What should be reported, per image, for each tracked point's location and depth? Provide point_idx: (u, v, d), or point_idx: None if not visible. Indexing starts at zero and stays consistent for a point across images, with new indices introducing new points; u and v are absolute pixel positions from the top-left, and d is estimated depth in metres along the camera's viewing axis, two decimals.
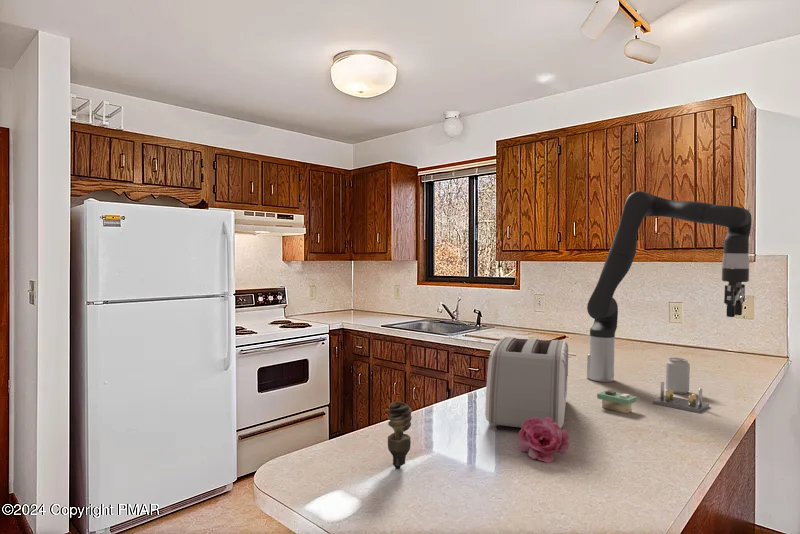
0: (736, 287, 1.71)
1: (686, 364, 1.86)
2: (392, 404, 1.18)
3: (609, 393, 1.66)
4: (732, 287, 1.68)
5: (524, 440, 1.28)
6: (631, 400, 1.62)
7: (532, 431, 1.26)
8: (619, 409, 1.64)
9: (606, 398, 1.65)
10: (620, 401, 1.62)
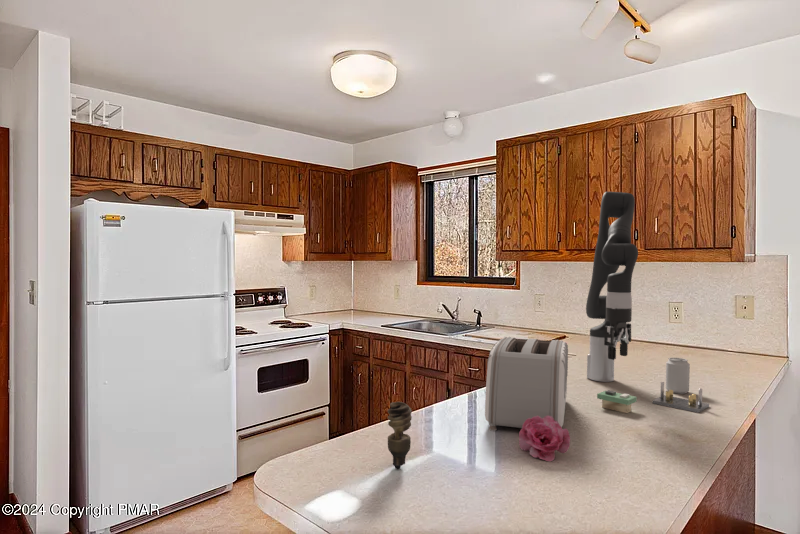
0: (617, 328, 1.63)
1: (686, 364, 1.86)
2: (392, 404, 1.18)
3: (609, 393, 1.66)
4: (611, 328, 1.60)
5: (525, 439, 1.29)
6: (631, 400, 1.62)
7: (533, 430, 1.27)
8: (619, 409, 1.64)
9: (606, 398, 1.65)
10: (620, 401, 1.62)
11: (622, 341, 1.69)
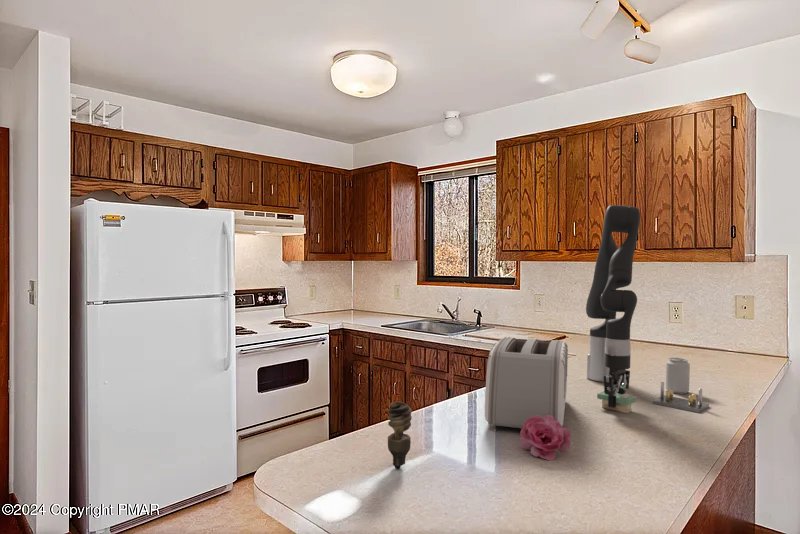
0: (616, 376, 1.63)
1: (686, 364, 1.86)
2: (392, 404, 1.18)
3: None
4: (610, 378, 1.60)
5: (526, 438, 1.30)
6: (631, 400, 1.62)
7: (534, 429, 1.27)
8: (619, 409, 1.64)
9: (606, 398, 1.65)
10: (620, 401, 1.62)
11: (620, 388, 1.68)
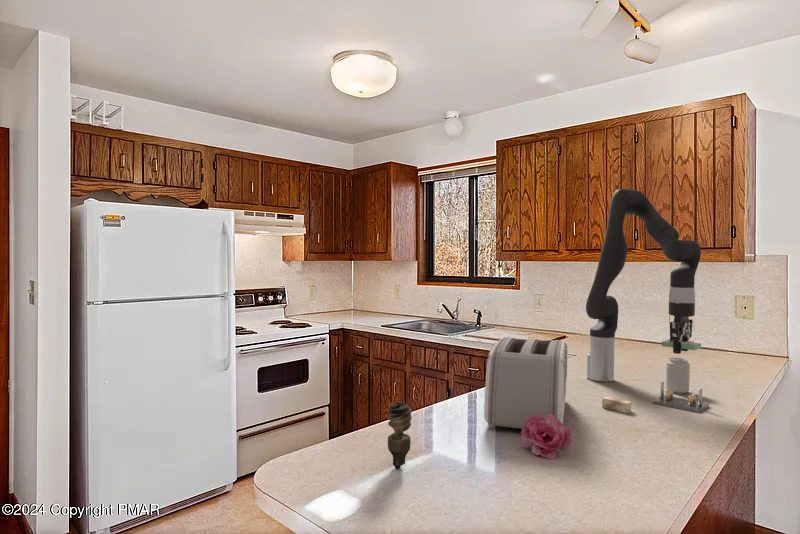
0: (681, 323, 1.68)
1: (686, 364, 1.86)
2: (392, 404, 1.18)
3: (673, 341, 1.72)
4: (676, 324, 1.66)
5: (527, 437, 1.31)
6: (696, 346, 1.67)
7: (535, 428, 1.28)
8: (619, 409, 1.64)
9: (671, 345, 1.71)
10: (686, 347, 1.67)
11: (683, 336, 1.74)
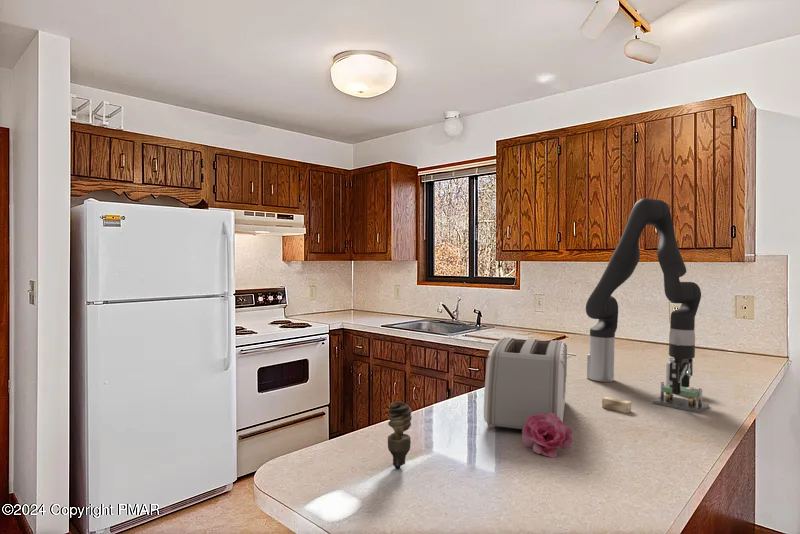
0: (682, 364, 1.69)
1: None
2: (392, 404, 1.18)
3: None
4: (677, 365, 1.66)
5: (528, 436, 1.32)
6: (697, 393, 1.67)
7: (536, 427, 1.29)
8: (619, 409, 1.64)
9: (671, 391, 1.71)
10: (686, 394, 1.68)
11: (684, 375, 1.75)
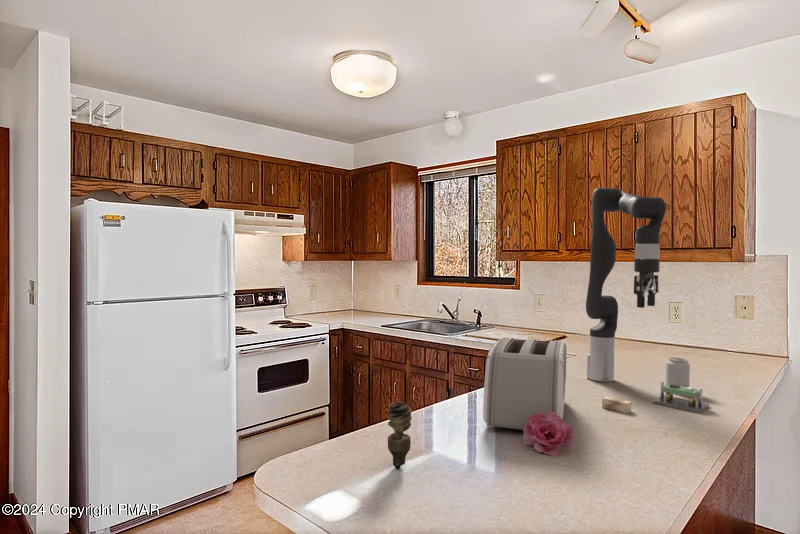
0: (646, 277, 1.70)
1: (686, 364, 1.86)
2: (392, 404, 1.18)
3: (674, 386, 1.72)
4: (641, 277, 1.67)
5: (529, 434, 1.33)
6: (697, 393, 1.67)
7: (537, 425, 1.30)
8: (619, 409, 1.64)
9: (671, 391, 1.71)
10: (686, 394, 1.68)
11: (650, 292, 1.76)
